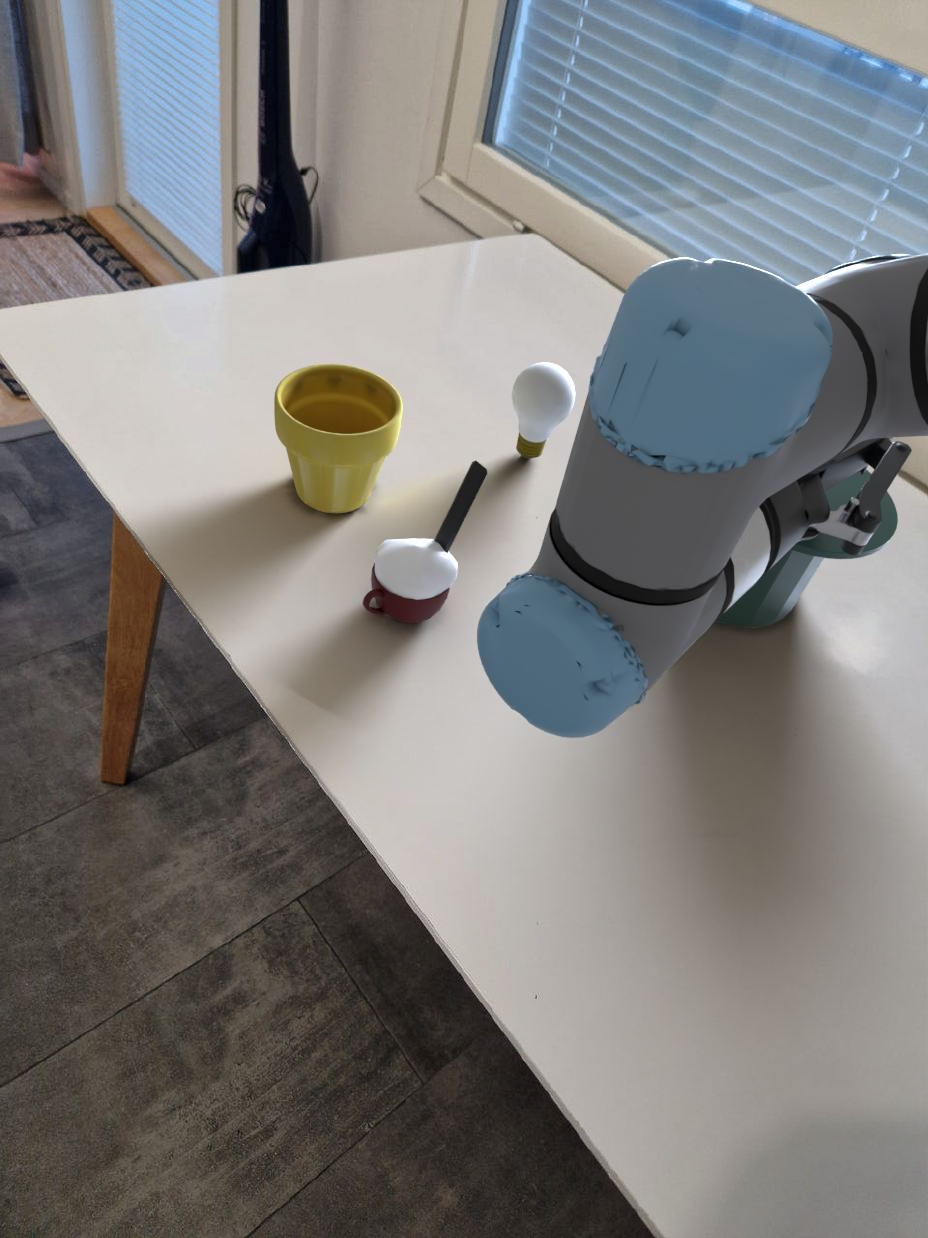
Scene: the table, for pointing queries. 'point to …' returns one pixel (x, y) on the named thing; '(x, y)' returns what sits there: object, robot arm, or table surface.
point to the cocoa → (421, 563)
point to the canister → (773, 592)
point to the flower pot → (336, 432)
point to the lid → (841, 495)
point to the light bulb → (540, 405)
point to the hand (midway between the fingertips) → (872, 389)
